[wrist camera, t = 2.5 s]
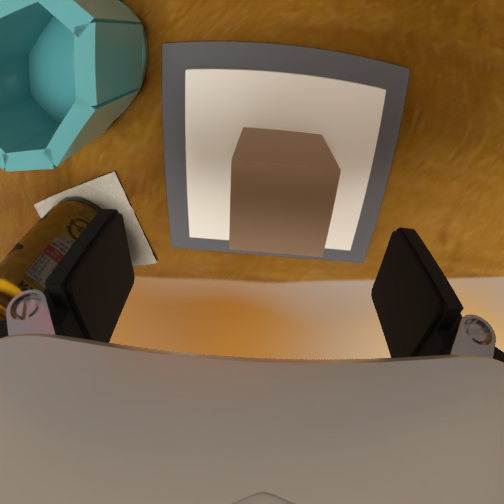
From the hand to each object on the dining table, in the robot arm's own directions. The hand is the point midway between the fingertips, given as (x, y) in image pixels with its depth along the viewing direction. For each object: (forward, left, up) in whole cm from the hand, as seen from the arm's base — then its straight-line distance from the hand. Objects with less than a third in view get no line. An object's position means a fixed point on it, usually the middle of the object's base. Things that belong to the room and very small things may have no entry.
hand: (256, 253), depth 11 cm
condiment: (+12, +6, -9) cm, 16 cm away
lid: (-1, 0, -8) cm, 8 cm away
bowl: (+11, -6, -9) cm, 16 cm away
